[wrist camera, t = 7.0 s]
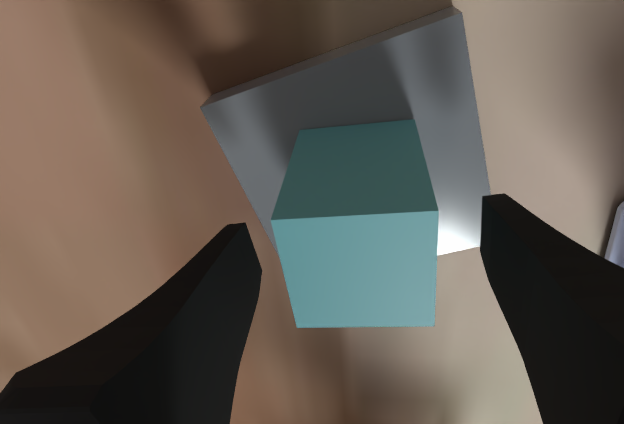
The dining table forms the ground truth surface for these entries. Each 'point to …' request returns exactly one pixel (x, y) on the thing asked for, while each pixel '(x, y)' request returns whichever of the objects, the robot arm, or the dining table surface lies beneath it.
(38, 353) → the dining table surface
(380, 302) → the teal block
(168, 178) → the dining table surface
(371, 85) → the gray block
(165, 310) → the robot arm
